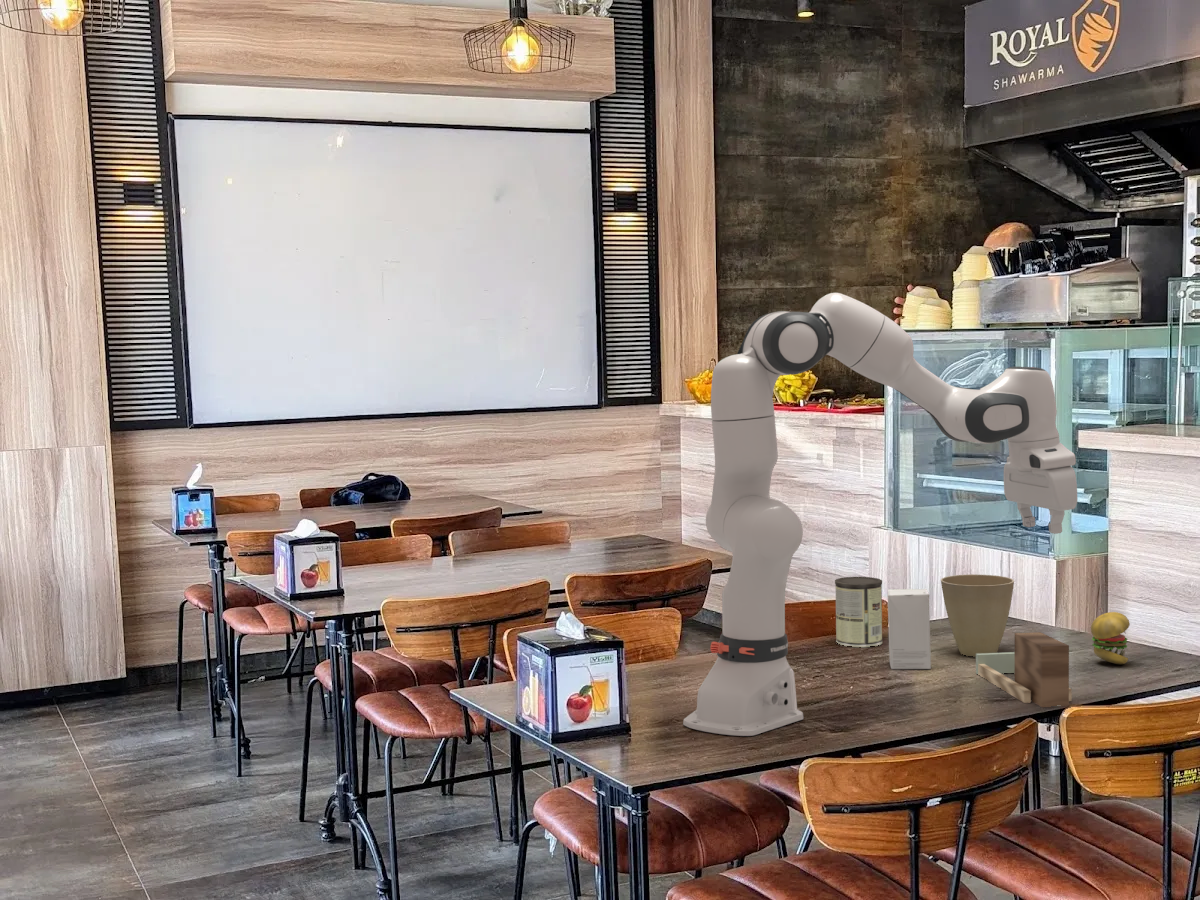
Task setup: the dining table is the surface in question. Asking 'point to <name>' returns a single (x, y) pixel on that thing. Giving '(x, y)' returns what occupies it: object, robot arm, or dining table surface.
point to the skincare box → (909, 629)
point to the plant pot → (977, 610)
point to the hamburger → (1110, 636)
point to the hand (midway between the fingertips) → (1042, 529)
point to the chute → (1008, 684)
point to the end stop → (997, 661)
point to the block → (1042, 668)
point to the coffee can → (859, 611)
